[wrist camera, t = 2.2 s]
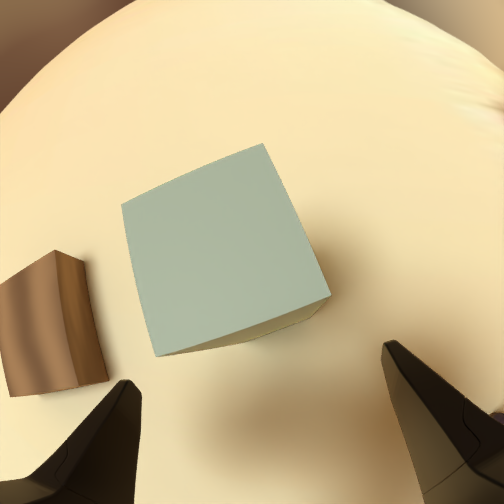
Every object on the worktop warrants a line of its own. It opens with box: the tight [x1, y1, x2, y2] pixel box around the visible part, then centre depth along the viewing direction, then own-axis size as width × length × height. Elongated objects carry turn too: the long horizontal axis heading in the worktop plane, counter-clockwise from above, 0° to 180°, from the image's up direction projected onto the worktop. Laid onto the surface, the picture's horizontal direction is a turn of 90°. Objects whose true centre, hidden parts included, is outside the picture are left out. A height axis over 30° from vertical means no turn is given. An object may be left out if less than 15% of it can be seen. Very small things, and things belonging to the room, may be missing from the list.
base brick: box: [0, 250, 109, 397], centre depth 20 cm, size 11×11×4 cm
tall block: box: [121, 143, 331, 357], centre depth 14 cm, size 5×5×13 cm
